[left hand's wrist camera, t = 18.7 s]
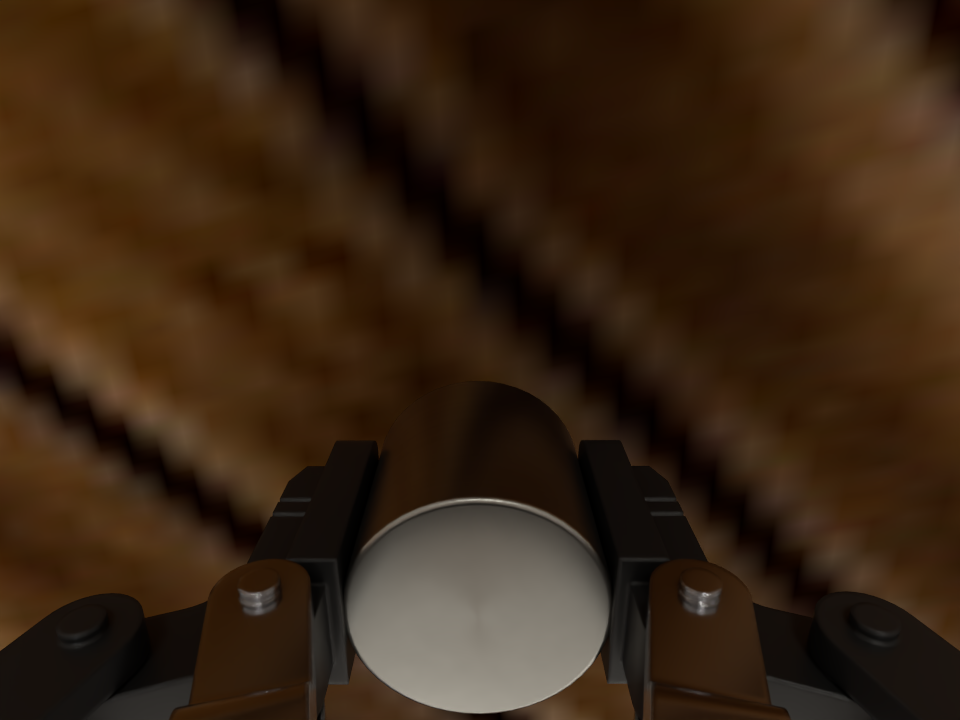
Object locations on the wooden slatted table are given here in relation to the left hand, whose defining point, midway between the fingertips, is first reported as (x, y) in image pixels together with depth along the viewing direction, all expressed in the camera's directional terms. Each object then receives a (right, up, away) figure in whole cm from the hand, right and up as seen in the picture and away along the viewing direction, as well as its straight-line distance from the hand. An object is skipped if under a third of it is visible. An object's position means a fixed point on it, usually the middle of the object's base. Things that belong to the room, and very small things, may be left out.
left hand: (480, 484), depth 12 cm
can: (0, 0, +1) cm, 1 cm away
